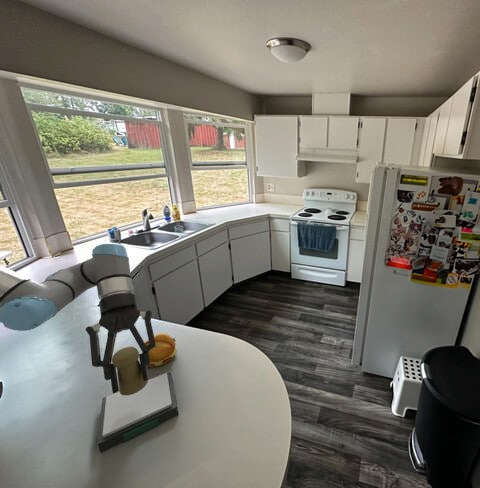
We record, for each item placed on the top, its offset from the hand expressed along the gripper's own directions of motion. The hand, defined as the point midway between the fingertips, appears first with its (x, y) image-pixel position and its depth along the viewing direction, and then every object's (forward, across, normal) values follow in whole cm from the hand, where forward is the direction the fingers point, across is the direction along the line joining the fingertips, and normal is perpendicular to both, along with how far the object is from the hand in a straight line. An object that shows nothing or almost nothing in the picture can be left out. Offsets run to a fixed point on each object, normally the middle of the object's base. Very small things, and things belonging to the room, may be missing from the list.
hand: (131, 385), depth 61 cm
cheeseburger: (-6, -6, -24) cm, 26 cm away
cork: (0, 0, -5) cm, 5 cm away
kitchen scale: (+6, 0, -11) cm, 13 cm away
